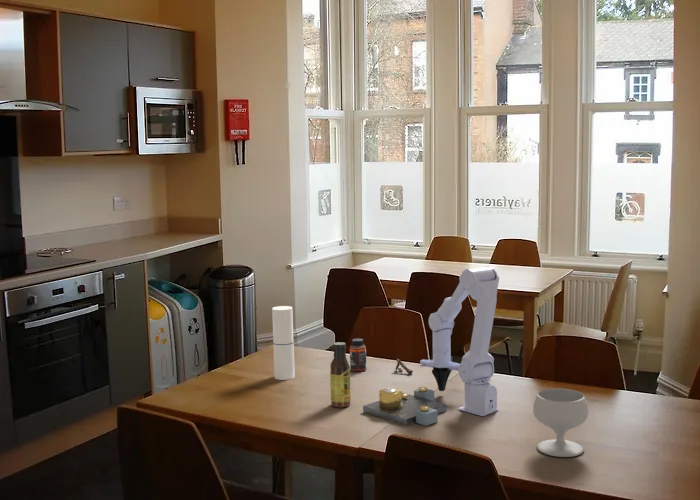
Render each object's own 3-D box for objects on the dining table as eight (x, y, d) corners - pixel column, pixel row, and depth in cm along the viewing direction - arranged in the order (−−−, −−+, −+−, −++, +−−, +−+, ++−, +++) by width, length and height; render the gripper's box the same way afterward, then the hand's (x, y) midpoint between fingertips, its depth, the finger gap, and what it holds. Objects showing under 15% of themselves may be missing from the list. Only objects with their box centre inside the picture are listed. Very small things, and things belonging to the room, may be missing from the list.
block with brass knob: (437, 421, 236) (437, 406, 235) (426, 425, 232) (426, 411, 232) (427, 418, 239) (427, 404, 238) (416, 422, 235) (415, 408, 235)
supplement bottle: (369, 368, 294) (369, 338, 293) (361, 372, 289) (360, 342, 288) (355, 366, 297) (355, 336, 296) (347, 370, 292) (346, 340, 291)
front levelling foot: (434, 401, 255) (434, 387, 254) (426, 404, 252) (425, 390, 251) (422, 397, 258) (422, 384, 258) (414, 400, 255) (413, 387, 255)
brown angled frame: (396, 367, 293) (399, 357, 291) (409, 380, 287) (413, 369, 285) (392, 368, 292) (395, 357, 290) (406, 381, 286) (409, 370, 284)
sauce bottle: (348, 409, 250) (347, 346, 247) (328, 408, 251) (327, 345, 248) (352, 402, 256) (351, 341, 253) (333, 401, 257) (331, 340, 255)
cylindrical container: (271, 379, 284) (268, 309, 281) (279, 373, 291) (276, 305, 288) (290, 380, 282) (288, 310, 279) (297, 374, 289) (295, 306, 285)
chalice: (578, 439, 220) (578, 385, 218) (595, 458, 206) (596, 402, 204) (527, 441, 219) (527, 387, 217) (541, 460, 205) (541, 404, 203)
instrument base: (446, 411, 246) (446, 387, 245) (406, 425, 233) (406, 401, 232) (403, 398, 258) (402, 376, 258) (363, 412, 246) (362, 389, 245)
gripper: (415, 349, 259) (416, 390, 261) (457, 354, 252) (458, 396, 254) (424, 344, 265) (425, 384, 267) (466, 349, 258) (466, 390, 260)
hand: (442, 390), depth 261 cm, fingers closed
